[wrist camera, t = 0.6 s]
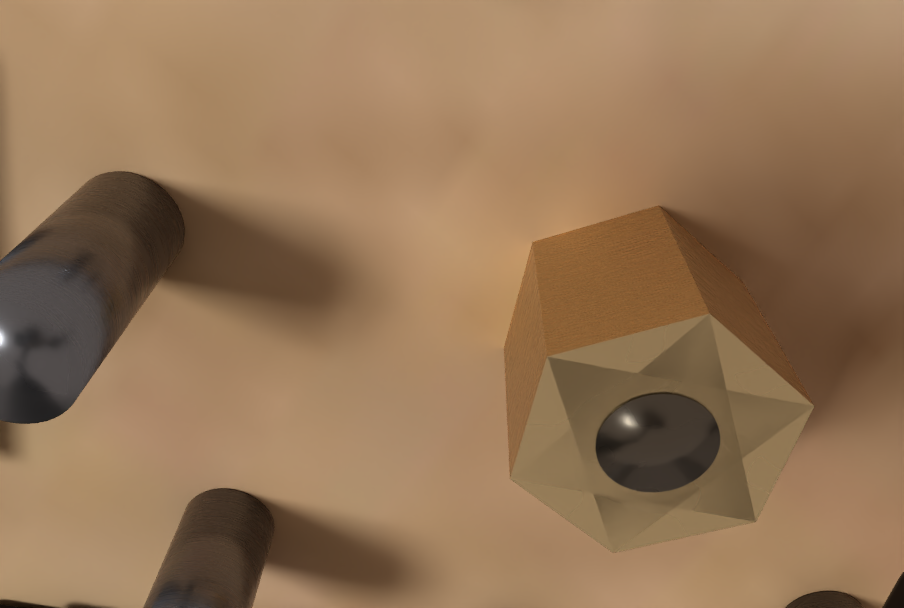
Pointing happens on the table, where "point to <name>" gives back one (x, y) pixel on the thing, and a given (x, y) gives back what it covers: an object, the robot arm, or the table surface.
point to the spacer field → (90, 340)
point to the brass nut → (645, 385)
